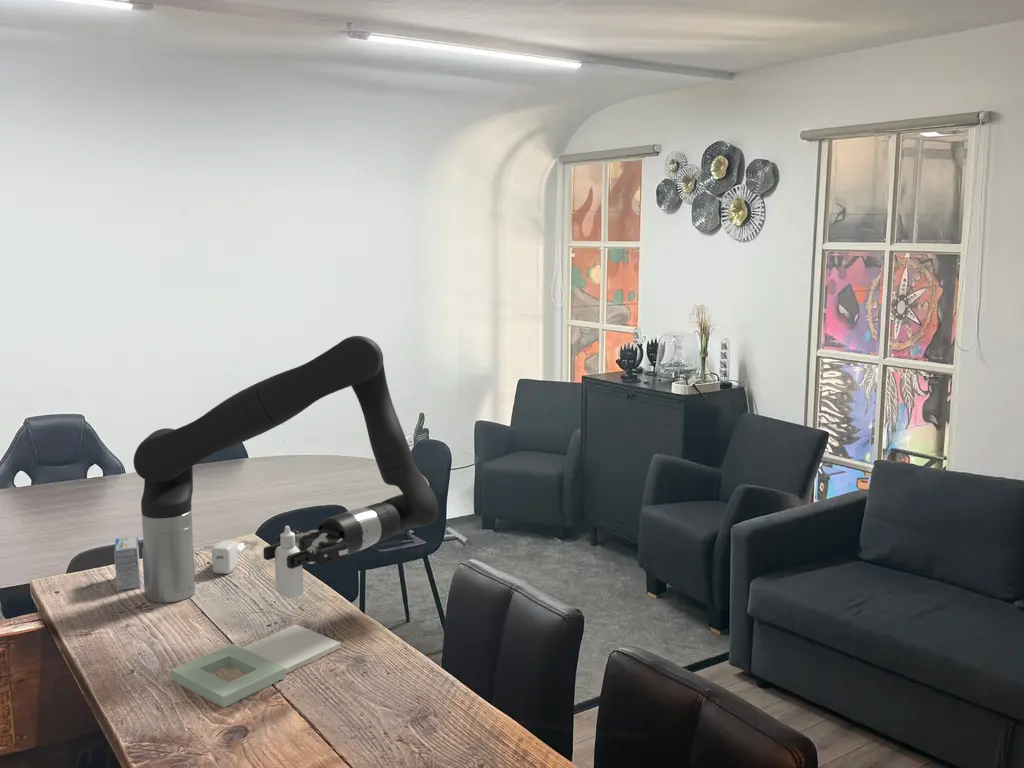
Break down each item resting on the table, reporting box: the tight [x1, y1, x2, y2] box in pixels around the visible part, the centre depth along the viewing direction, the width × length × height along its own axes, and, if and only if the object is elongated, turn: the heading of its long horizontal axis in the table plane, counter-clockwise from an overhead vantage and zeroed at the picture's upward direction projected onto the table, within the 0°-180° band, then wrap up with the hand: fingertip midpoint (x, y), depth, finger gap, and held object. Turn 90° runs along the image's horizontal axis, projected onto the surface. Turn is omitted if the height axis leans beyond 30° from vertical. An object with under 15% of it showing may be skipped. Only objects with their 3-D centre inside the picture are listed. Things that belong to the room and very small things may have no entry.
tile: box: [241, 624, 342, 674], centre depth 161 cm, size 12×12×1 cm
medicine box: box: [113, 535, 141, 591], centre depth 189 cm, size 8×4×9 cm, turn 22°
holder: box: [170, 643, 287, 708], centre depth 151 cm, size 14×12×2 cm
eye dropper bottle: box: [274, 525, 304, 599], centre depth 158 cm, size 4×6×12 cm
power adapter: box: [211, 539, 247, 575], centre depth 200 cm, size 11×5×6 cm, turn 175°
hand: (276, 558), depth 156 cm, fingers closed on eye dropper bottle, 5 cm apart
